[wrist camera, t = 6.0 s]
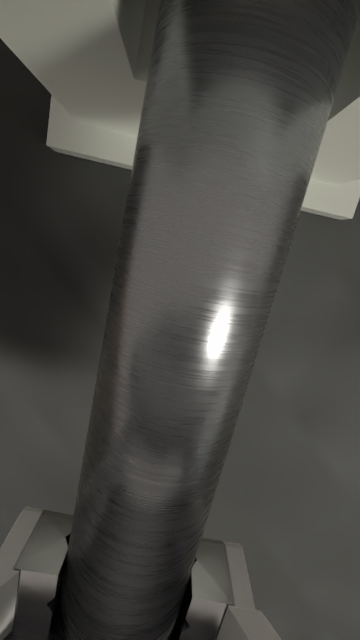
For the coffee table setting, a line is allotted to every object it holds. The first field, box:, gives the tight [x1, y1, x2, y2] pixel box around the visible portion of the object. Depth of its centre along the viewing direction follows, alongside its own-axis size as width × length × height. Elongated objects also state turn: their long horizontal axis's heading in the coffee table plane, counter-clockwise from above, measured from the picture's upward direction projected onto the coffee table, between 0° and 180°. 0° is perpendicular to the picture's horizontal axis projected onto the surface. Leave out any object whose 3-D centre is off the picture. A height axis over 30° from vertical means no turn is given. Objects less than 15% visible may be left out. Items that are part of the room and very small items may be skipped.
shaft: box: [3, 0, 360, 640], centre depth 6 cm, size 19×5×4 cm, turn 167°
